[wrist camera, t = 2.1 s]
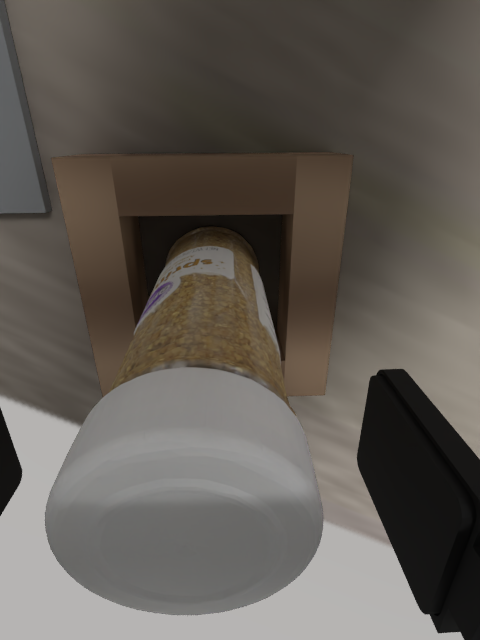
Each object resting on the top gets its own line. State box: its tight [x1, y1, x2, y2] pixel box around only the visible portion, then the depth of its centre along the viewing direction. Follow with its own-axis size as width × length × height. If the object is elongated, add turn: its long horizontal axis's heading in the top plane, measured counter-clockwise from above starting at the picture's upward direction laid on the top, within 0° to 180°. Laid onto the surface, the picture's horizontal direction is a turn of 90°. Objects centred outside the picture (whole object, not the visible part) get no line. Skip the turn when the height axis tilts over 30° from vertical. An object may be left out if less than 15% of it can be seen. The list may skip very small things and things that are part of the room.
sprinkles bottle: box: [45, 226, 323, 615], centre depth 12 cm, size 5×5×14 cm
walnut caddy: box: [51, 152, 354, 397], centre depth 16 cm, size 10×10×3 cm
